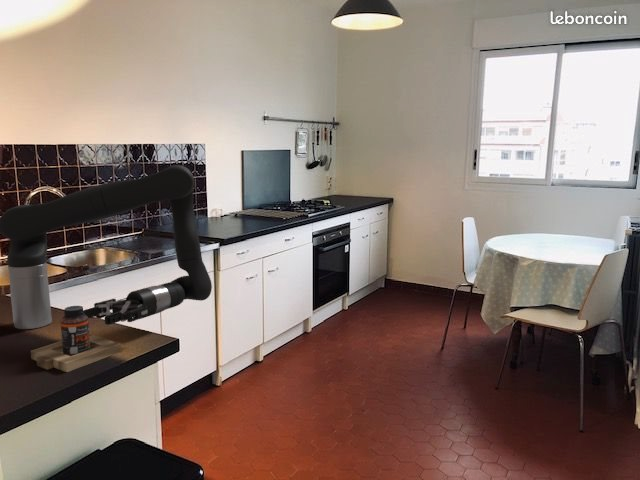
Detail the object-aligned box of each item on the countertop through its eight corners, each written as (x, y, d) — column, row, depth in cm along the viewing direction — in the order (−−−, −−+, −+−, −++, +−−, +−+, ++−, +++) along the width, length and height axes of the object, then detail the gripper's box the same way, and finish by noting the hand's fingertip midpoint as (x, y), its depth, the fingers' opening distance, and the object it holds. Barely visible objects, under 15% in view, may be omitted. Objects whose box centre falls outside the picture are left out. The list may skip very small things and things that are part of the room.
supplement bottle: (80, 359, 120) (76, 312, 118) (57, 357, 121) (53, 310, 120) (96, 349, 126) (92, 304, 124) (74, 348, 127) (70, 303, 125)
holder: (24, 361, 120) (24, 352, 120) (85, 340, 133) (85, 333, 133) (60, 374, 113) (59, 366, 113) (121, 351, 126) (120, 343, 125)
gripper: (130, 284, 143) (76, 298, 130) (166, 291, 136) (112, 307, 122) (132, 310, 145) (78, 327, 131) (167, 319, 137) (114, 338, 124)
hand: (94, 317), depth 127 cm, fingers open, 8 cm apart
